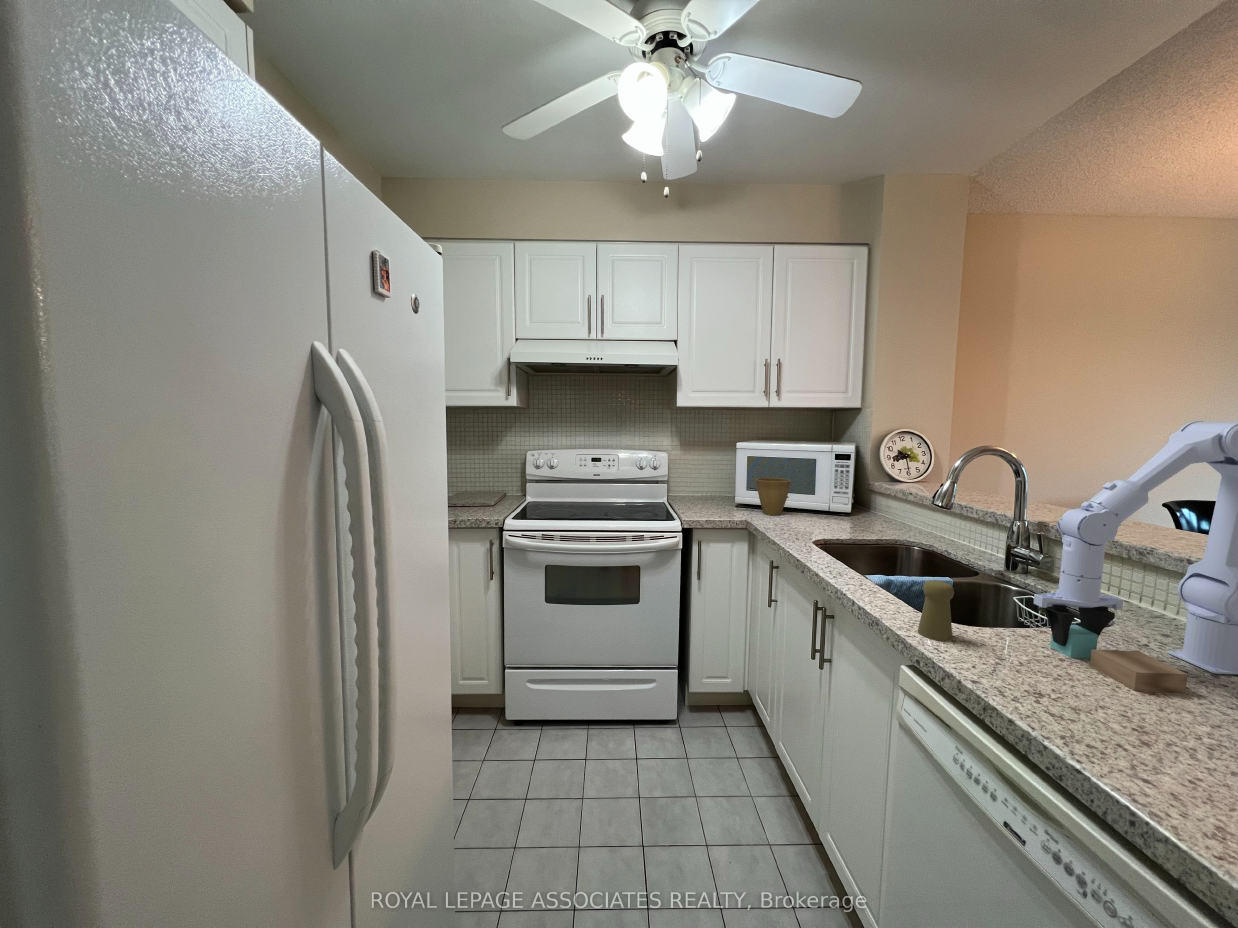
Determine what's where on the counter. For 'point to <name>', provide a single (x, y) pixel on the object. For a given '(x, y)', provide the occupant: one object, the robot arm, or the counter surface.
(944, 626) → the cork
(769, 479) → the plant pot
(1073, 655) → the teal cube
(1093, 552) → the robot arm
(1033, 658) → the counter surface
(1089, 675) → the counter surface
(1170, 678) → the walnut block
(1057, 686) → the counter surface
